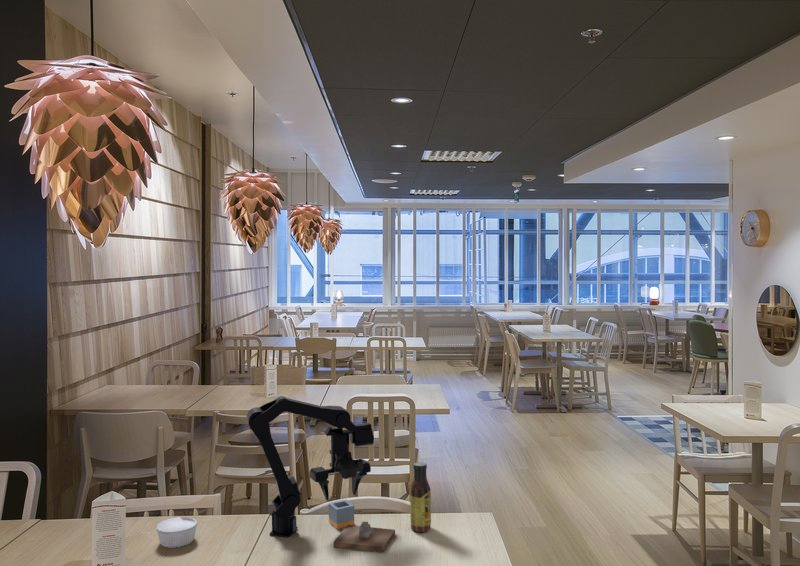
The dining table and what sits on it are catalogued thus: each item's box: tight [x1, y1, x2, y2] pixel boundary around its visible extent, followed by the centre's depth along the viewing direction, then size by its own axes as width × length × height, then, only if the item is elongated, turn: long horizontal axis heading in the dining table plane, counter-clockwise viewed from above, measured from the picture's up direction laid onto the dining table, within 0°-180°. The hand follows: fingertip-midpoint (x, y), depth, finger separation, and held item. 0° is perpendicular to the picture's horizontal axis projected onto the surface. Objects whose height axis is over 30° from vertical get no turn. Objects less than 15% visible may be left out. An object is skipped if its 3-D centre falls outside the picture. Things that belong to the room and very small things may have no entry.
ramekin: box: [156, 516, 198, 549], centre depth 187 cm, size 11×11×5 cm
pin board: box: [333, 521, 396, 553], centre depth 185 cm, size 15×12×5 cm
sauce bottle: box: [409, 461, 432, 533], centre depth 193 cm, size 6×6×20 cm
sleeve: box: [328, 499, 355, 530], centre depth 198 cm, size 6×6×6 cm
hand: (340, 497), depth 197 cm, fingers open, 9 cm apart
